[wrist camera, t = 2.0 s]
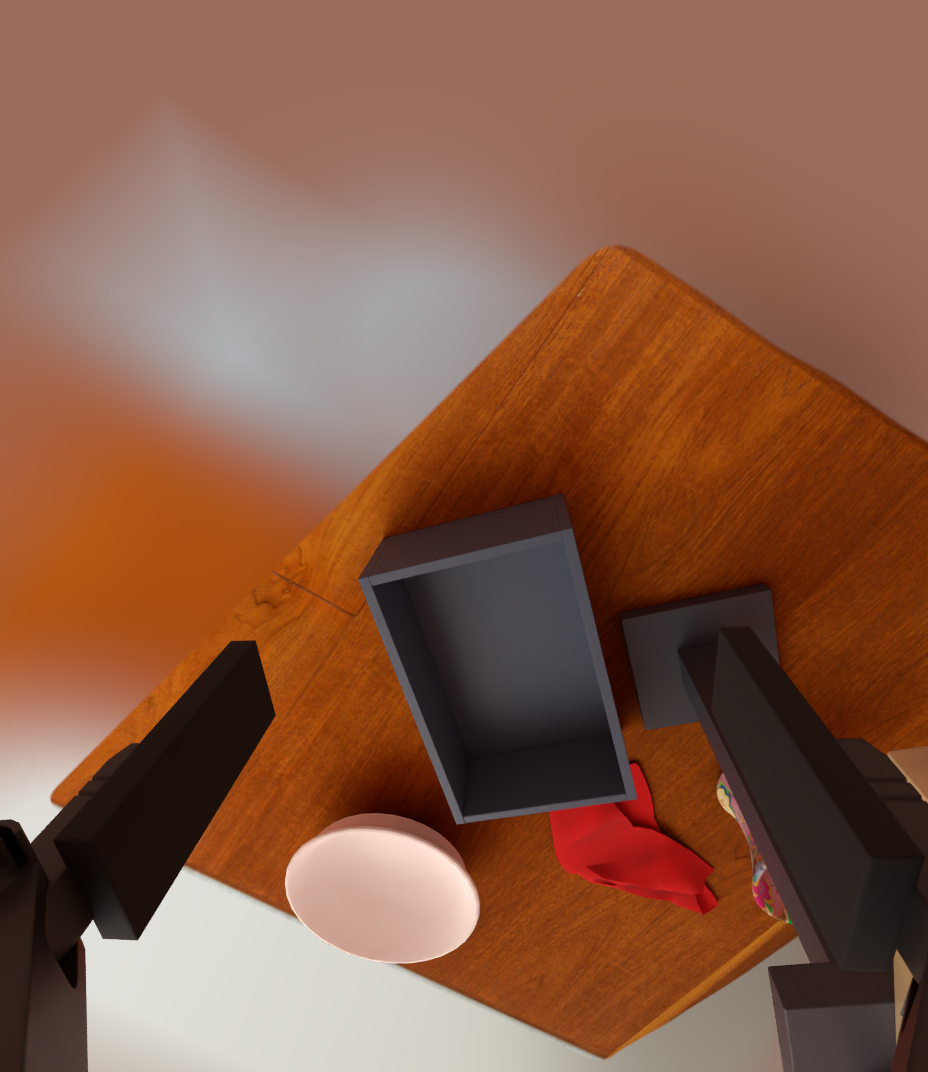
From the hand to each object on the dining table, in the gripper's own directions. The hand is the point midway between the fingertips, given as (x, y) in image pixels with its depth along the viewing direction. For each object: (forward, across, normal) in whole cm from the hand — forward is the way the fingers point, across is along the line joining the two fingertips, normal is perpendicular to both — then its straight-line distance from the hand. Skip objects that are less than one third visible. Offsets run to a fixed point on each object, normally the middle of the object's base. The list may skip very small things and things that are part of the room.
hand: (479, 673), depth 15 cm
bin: (+29, -1, -17) cm, 34 cm away
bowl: (+29, -15, -43) cm, 54 cm away
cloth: (+29, +10, -42) cm, 52 cm away
